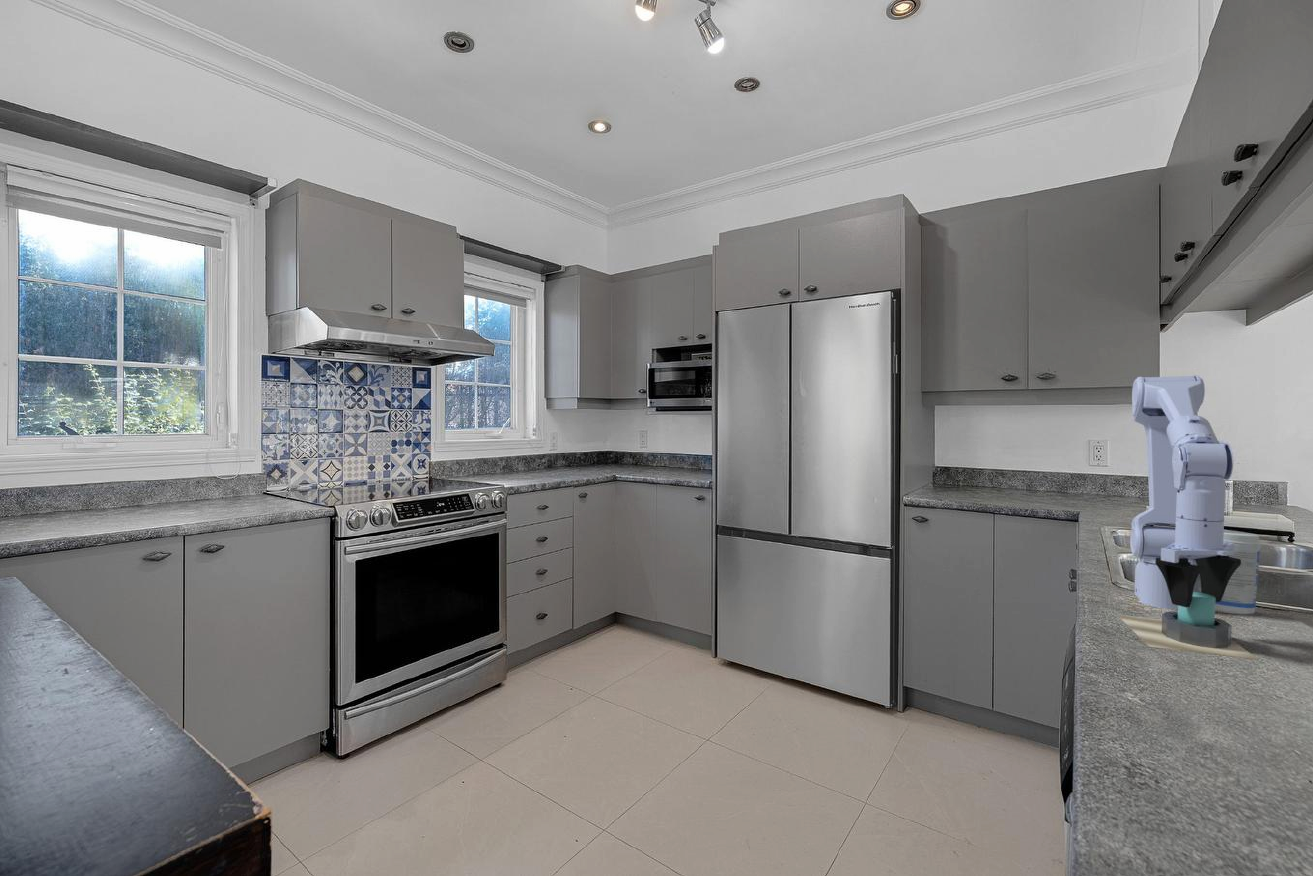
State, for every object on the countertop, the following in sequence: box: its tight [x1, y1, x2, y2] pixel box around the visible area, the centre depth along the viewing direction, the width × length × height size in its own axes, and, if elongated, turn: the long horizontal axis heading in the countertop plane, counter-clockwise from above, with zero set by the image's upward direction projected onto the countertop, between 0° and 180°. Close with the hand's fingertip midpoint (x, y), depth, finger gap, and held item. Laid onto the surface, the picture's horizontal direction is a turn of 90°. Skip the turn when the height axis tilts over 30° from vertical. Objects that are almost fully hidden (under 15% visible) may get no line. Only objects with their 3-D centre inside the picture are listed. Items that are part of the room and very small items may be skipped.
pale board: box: [1117, 614, 1260, 661], centre depth 98 cm, size 16×13×1 cm
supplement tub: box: [1193, 529, 1261, 615], centre depth 113 cm, size 10×10×15 cm
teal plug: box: [1177, 592, 1216, 626], centre depth 97 cm, size 4×4×7 cm
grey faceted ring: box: [1161, 610, 1232, 648], centre depth 97 cm, size 8×8×3 cm
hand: (1196, 602), depth 97 cm, fingers open, 7 cm apart
